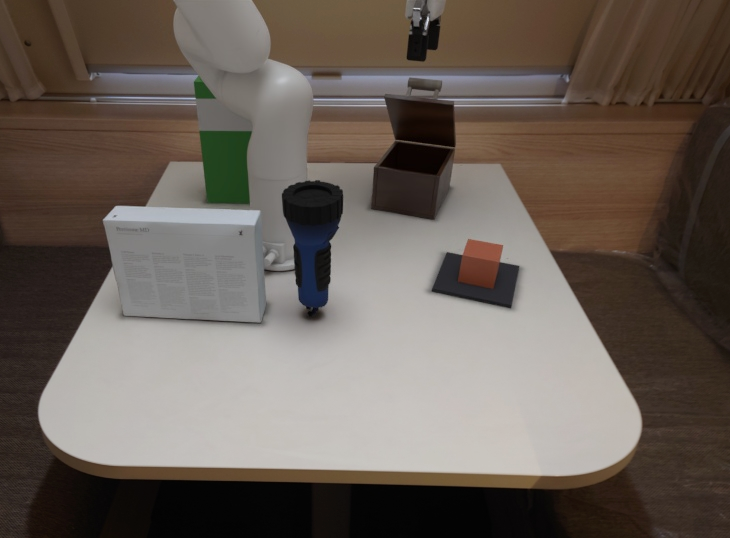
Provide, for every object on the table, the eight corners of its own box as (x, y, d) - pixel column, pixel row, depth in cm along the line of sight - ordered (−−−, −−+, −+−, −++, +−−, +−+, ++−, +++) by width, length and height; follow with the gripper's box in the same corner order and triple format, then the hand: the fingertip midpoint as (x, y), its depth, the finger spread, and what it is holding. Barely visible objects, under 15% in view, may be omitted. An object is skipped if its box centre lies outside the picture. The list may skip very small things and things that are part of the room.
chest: (434, 219, 110) (439, 176, 105) (371, 208, 114) (373, 167, 110) (449, 188, 122) (455, 148, 117) (391, 179, 126) (395, 140, 121)
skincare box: (267, 302, 88) (262, 209, 79) (261, 324, 84) (255, 227, 75) (134, 295, 90) (114, 203, 81) (121, 316, 86) (99, 221, 77)
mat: (510, 308, 87) (511, 305, 86) (431, 291, 91) (432, 288, 90) (518, 268, 96) (519, 265, 95) (446, 254, 100) (446, 251, 99)
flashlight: (285, 333, 82) (281, 206, 71) (285, 301, 89) (282, 180, 77) (341, 332, 82) (346, 205, 71) (337, 300, 89) (341, 179, 77)
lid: (453, 104, 102) (460, 76, 103) (384, 97, 106) (391, 70, 107) (455, 147, 117) (461, 122, 118) (394, 139, 121) (401, 115, 122)
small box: (493, 289, 90) (499, 261, 87) (457, 281, 92) (462, 254, 89) (497, 271, 94) (503, 244, 91) (463, 264, 96) (468, 238, 93)
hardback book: (296, 188, 123) (293, 71, 109) (293, 204, 116) (291, 82, 103) (213, 187, 123) (201, 71, 110) (207, 202, 117) (193, 81, 104)
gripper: (423, -64, 98) (412, 43, 108) (398, -59, 85) (388, 63, 94) (468, -63, 96) (453, 47, 105) (449, -57, 83) (433, 67, 92)
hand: (422, 54), depth 100 cm, fingers open, 9 cm apart
